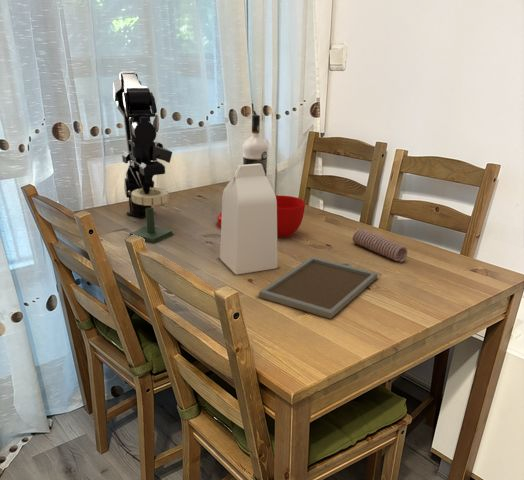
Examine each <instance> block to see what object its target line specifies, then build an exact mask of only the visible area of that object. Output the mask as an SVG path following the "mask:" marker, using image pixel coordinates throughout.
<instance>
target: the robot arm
mask: <svg viewBox="0 0 524 480" xmlns="http://www.w3.org/2000/svg"><path fill="white" fill-rule="evenodd" d="M112 88H113V89H112V95H113V100H114V102H116V108H117V110H118V111H119V113H120V114H121V115H122V116H123V122H124V131H125V138H126V147H127V151H124V152H123V154H121V158H122V159H121V160H122V162H123V163H124V164H128V163H129V165H128V168H127V170H126V173H125V178H124V182H123V183H124V187H123V188H124V195H125V197H126V199H128V205H129V211H128V212H126V215H127V216H128V215H129V216H133V217H137V218H146V213H145V209H146V208H152V206H148V205H139V204H136V203H134V202H133V201H132V197H131V193H132V191H134V190H136V189H140V188H143V191H144V193H145V194H149V190H150V187H154V188H155V180H153V178H154V176H160V175H165V174H166V166H165V165H164V164H163V163H162V162H161V161H164V162H166V163H168V164H169V163H170V164H171V160H172V155H173V151H171V150H169V149H167V148H166V147H164V145H163V143H161V142H159V141H155V140H156V139H157V130H156V127H155V125H153V123H152V122H151V118H156V117H157V115H156V114H157V112H158V108H157V104H156V98H155V96H154V93H153V92H152V91H151V90H150V88H149V87H148V86H146V85H142V81H140V79H139V76H138V72H135V71H121V72H119V77H117V78H116V79H115V80H114V81H113V83H112ZM158 160H160V161H158Z"/></svg>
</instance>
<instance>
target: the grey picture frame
mask: <svg viewBox="0 0 524 480" xmlns="http://www.w3.org/2000/svg"><path fill="white" fill-rule="evenodd" d="M376 279H378V272H375V271H371V270H366V269H363V268H359V267H356V266H353V265H352V264H350V263H349V262H341V263H340V262H335V261H332V260H328V259H324V258H321V257H320V258H319V257H316V256H311V257H310V258H308V259H306V260H305V261H303V262H302V263H300V264H299V265H297V266H296V267H294V268H292V269H291V270H290V271H288V272H287V273H285V274H283V275H282V276H281V277H278V279H276V280H274V281H273V282H271V283H270V284H269V285H267V286H265V287H264V288H262V289H261V290H260V291H259V292H258V296H259V298H261V299H264V300H268V301H271V302H274V303H277V304H280V305H283V306H286V307H291V308H294V309H297V310H300V311H304V312H307V313H310V314H314V315H317V316H320V317H324V318H326V319H330V320H331V319H332V318H334V317H335V316H336V315H337V314H338V313H340V311H342V310H343V309H344V307H347V305H348V304H349V303H351V302H352V301H353V300H354V299H355V298H356V297H357V296H359V295H360V294H361V293H362V292H363V291H364V290H365V289H366V288H368V286H370V285H371V284H372V283H373V282H375V280H376Z"/></svg>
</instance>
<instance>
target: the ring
mask: <svg viewBox="0 0 524 480" xmlns="http://www.w3.org/2000/svg"><path fill="white" fill-rule="evenodd" d="M131 197H132V201H133V202H134V203H136V204H139V205H148V206H151V207H152V206H160V205H164V204H167V203H168V202H169V201H170V192H169V191H168V190H167V189H165V188H163V187H155V186H154V187H150V190H149V194H145V193H144V191H143V188H140V189H136V190H134V191H132V193H131Z"/></svg>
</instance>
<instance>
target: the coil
mask: <svg viewBox="0 0 524 480" xmlns="http://www.w3.org/2000/svg"><path fill="white" fill-rule="evenodd" d="M352 242H353V243H354V244H356V245H359V246H360V247H363V248H365V249H367V250H369V251H372V252H374V253H376V254H379V255H381V256H384V257H386V258H388V259H390V260H392V261H395V262H399V263H403V262H404V261H405V260H406V259H407V257H408V248H407V247H406V246H405V245H403V244H400V243H398V242H395V241H394V240H391V239H388V238H385V237H384V236H381V235H379V234H376V233H373V232H371V231H368V230H366V229H364V228H357V230H355V231H354V233H353V234H352Z"/></svg>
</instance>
